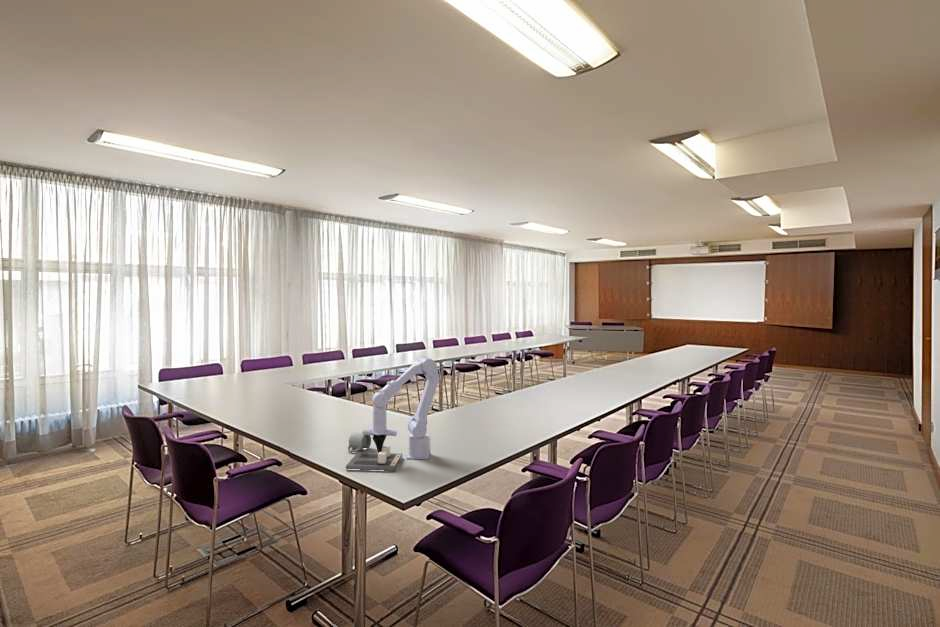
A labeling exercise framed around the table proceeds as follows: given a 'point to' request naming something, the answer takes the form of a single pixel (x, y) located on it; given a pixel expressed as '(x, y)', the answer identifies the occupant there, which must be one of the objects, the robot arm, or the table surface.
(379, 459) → the switch tab
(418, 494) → the table surface
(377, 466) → the switch panel
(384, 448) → the switch tab
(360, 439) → the ceramic mug
